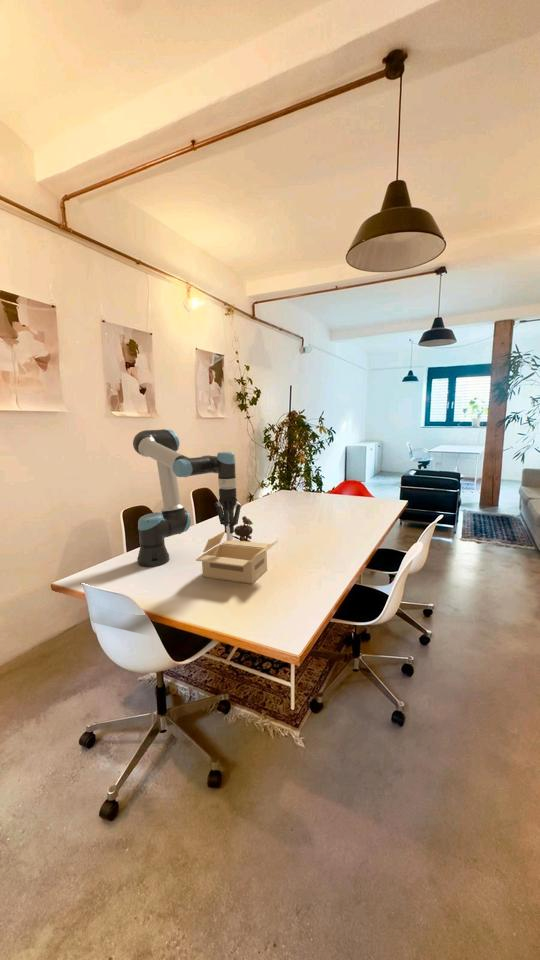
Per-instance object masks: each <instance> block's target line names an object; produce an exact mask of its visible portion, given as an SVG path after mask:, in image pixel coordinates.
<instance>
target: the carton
mask: <svg viewBox="0 0 540 960" xmlns="http://www.w3.org/2000/svg"><path fill="white" fill-rule="evenodd" d="M270 544H271V543H263V542H256V541H251V542H247V541H240V540H238V539H235V540H234V539H233V540H231V541H227V539H226V540H225V541H222V543H219V544H217V545H216V546H214V547H212V548H211V549H209V550H208V551H206V552H204V553H203V554H202V555H200V556H198V557H197V558H195V561H197V562H201V566H202V567H201V568H202V578H207V579H212V580H213V579H214V580H219V581H220V580H221V581H227V582H233V583H234V582H235V583H238V584H239V583H240V584H247V585H253V584H255V583H256V581H258V580H259V579H260V578H261V577H262V576H263V575H264V574H265V573H266V572H267V571H268V559H267V558H268V556H267V554H268V553H267V551H266V552H265V553H263V554H261V555H259V556H257V557H256V558H254V559H253V558H252V557H254V556H255V555H256V554H257V553H259V552H260V551H261V550H262V549H264V548H265V547H267V546H268V545H270Z"/></svg>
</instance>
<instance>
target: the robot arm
mask: <svg viewBox="0 0 540 960" xmlns="http://www.w3.org/2000/svg"><path fill="white" fill-rule="evenodd" d="M133 437H134V438H133V440H132V446H133V449H134V451H135V453H137V454H138V455H141V456H142V457H145V458H148V457H149V458H151V459H153V460H154V461H156V465H157V472H158V473H157V474H158V479H159V485H160V490H161V497H162V504H163V507H162V508H161V511H160V512H152V513H151V512H150V513H147V514H144V515H142V516H140V517H139V519H138V521H137V525H138V526H137V530H138V538H139V539H138V540H139V551H138V555H137V559H136V563H137V565H138V566H139V567H145V568H146V567H158V566H161V565H165V564H166V563H168V562H169V561H170V553H169V552H168V550H167V548H166V544H165V538H169V537H172V536H176V535H181V534H183V533H185V532H187V531H188V530H189V529H190V527H191V525H192V524H191V523H192V520H191V519H192V518H191V515H190V513H189V510H187V509H185V506H184V505H183V504H182V503H181V497H180V491H179V490H180V489H179V485H178V484H179V483H178V478H188V477H192V476H198V475H205V474H218V475H217V477H218V479H217V480H218V496H219V499H218V501H216V502H214V504H213V505H214V506H215V508H216V512H217V517H218V519H219V524H220V525H223V526H224V530H225V533H224V534H226V540H227V541H231V540H234V539H233V538H234V537H233V536H234V534H235V532H234V529H235V527H234V526H237V525H238V523H239V518H240V513H241V509H242V506H243V504H242V503H240V502H238V499H237V488H236V487H237V479H236V457H235V453H234V452H233V451H220V452H217V453H216V455H217V456H216V455H201V456H199V457H188V456H186V455H183V454H181V453H180V452H178V450H179V449H180V439H179V436H178V434H177V433H176V432H175V431H174V430H172V429H165V428H164V429H163V428H162V429H146V430H141V431H139V432H138V433H136V435H135V436H133Z"/></svg>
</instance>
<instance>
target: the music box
mask: <svg viewBox="0 0 540 960" xmlns="http://www.w3.org/2000/svg"><path fill="white" fill-rule="evenodd" d="M241 518H242V523H243V524H240V525H236V527H234V534H235V535H236V536H235V535H233V538H234V539H235V540H238V541H247V542H252V541H251V540H252V537H253V536H251V535H252V533H253V528H252V526H251V525H254V523H253V522H252V520H251V519H250V518H248V517H247V516H246V515H244V516H242V517H241Z"/></svg>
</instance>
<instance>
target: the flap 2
mask: <svg viewBox="0 0 540 960" xmlns="http://www.w3.org/2000/svg"><path fill="white" fill-rule="evenodd" d="M278 542H279V541H278V540H276V541H274V542H272V543H269V544H270V545H268V546H267V547H265V548H264V549H262V550H261V551H260V552H259V553H257V554H256V555H255V556H254V557H252V558H253V559H254V558H256V557H257V556H259V555H261V554H263V553H265V552H266V551H269V550H270V549H271V548H272V547H274V546H275V545H276V544H278Z"/></svg>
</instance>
